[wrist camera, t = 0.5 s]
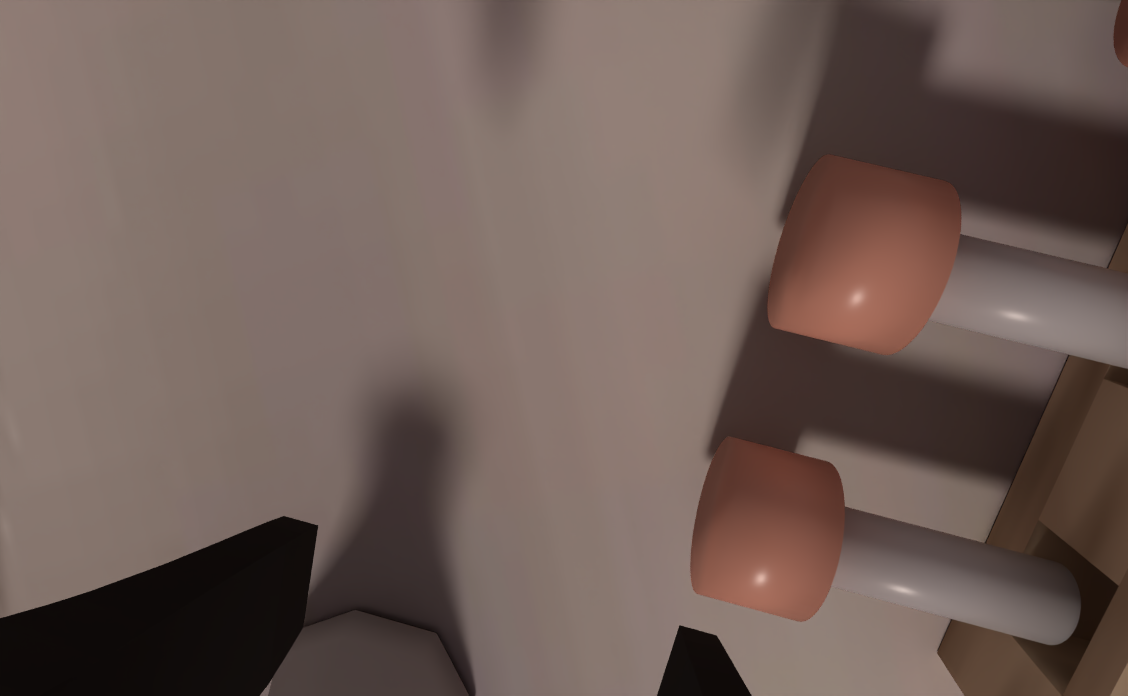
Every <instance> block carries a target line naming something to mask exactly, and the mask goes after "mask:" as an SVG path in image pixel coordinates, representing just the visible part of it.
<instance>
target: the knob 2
mask: <svg viewBox="0 0 1128 696" xmlns="http://www.w3.org/2000/svg"><path fill="white" fill-rule="evenodd" d="M690 571H691V582H692V587H693V590H694V591H695V593H697V594H700V595H703V596H707V597H711V598H714V599H718V600H722V601H725V602H729V603H733V604H736V605H740V606H744V607H747V608H751V609H755V610H758V611H762V612H766V613H769V614H773V615H777V616H780V617H784V618H788V619H791V620H795V621H800V622H802V621H806V620H808V619H810V618H811V617H812V616H813V615H814V614H815V613H816V612H817V611H818V610H819V608H820V607H821V605H822V604H823V602H824V600H825V598H826V596H827V594H828V592H829V590H830V587H834V588H838V589H842V590H846V591H849V592H853V593H857V594H860V595H864V596H868V597H872V598H875V599H879V600H883V601H886V602H890V603H894V604H898V605H901V606H905V607H909V608H912V609H916V610H920V611H924V612H927V613H931V614H935V615H938V616H942V617H946V618H950V619H953V620H957V621H961V622H965V623H968V624H972V625H976V626H979V627H983V628H987V629H991V630H994V631H998V632H1002V633H1005V634H1009V635H1013V636H1017V637H1020V638H1024V639H1028V640H1031V641H1035V642H1039V643H1043V644H1046V645H1058V644H1060V643H1063V642H1064V641H1066V640H1067V639H1068V638H1069V637H1070V636H1071V635H1072V633H1073V632H1074V630H1075V628H1076V626H1077V624H1078V621H1079V617H1080V611H1081V598H1080V592H1079V588H1078V585H1077V582H1076V580H1075V578H1074V576H1073V575H1072V573H1071V572H1070V571H1069V570H1068V569H1067V568H1066V567H1065V566H1064V565H1062V564H1060V563H1058V562H1055V561H1051V560H1047V559H1043V558H1039V557H1036V556H1032V555H1028V554H1024V553H1020V552H1016V551H1013V550H1009V549H1005V548H1001V547H997V546H993V545H990V544H986V543H982V542H978V541H974V540H970V539H967V538H963V537H959V536H955V535H951V534H948V533H944V532H940V531H936V530H932V529H928V528H925V527H921V526H917V525H913V524H909V523H905V522H902V521H898V520H894V519H890V518H886V517H882V516H879V515H875V514H871V513H867V512H863V511H860V510H856V509H852V508H848V507H845V502H844V493H843V486H842V482H841V479H840V476H839V473H838V471H837V470H836V468H835V467H834V466H833V464H831V463H830V462H827V461H823V460H820V459H816V458H812V457H808V456H804V455H800V454H796V453H792V452H789V451H785V450H781V449H777V448H773V447H769V446H765V445H761V444H757V443H754V442H750V441H746V440H742V439H738V438H734V437H730V436H729V437H726V438H725V439H724V440H723V441H722V443H721V444H720V446H719V447H718V449H717V451H716V453H715V455H714V457H713V459H712V462H711V464H710V467H709V470H708V472H707V476H706V479H705V482H704V485H703V489H702V492H701V496H700V500H699V505H698V509H697V514H696V519H695V525H694V531H693V538H692V547H691V563H690Z"/></svg>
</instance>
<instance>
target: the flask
mask: <svg viewBox="0 0 1128 696" xmlns="http://www.w3.org/2000/svg"><path fill="white" fill-rule="evenodd" d="M268 696H469V695H468V693H467V691H466V689H465V687H464V685H463V683H462V681H461V679H460V677H459V675H458V673H457V671H456V670H455V668H454V666H453V664H452V662H451V660H450V658H449V656H448V654H447V652H446V650H445V648H444V647H443V645H442V643H441V641H440V639H439V637H438V635H437V633H434V632H431V631H427V630H424V629H420V628H417V627H413V626H410V625H406V624H403V623H399V622H396V621H392V620H389V619H385V618H382V617H378V616H375V615H371V614H368V613H364V612H361V611H357V610H354V611H351V612H348V613H345V614H342V615H339V616H336V617H333V618H330V619H327V620H324V621H321V622H318V623H315V624H312V625H310V626H307V627H304V628H303V629H302V631H301V632H300V634H299V636H298V637H297V639H296V641H295V642H294V644H293V646H292V647H291V649H290V651H289V652H288V654H287V655H286V657H285V659H284V660H283V662H282V664H281V665H280V667H279V668H278V670H277V671H276V673H275V675H274V676H273V679H272V683H271V687H270V690H269V694H268Z"/></svg>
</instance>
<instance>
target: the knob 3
mask: <svg viewBox="0 0 1128 696" xmlns="http://www.w3.org/2000/svg"><path fill="white" fill-rule="evenodd" d="M1113 37H1114V48H1115V53H1116V55H1117V57H1118V59H1119V61H1120V62H1121V63H1122V64H1123V65H1125V66H1126V67H1128V0H1121V3H1120V6H1119V9H1118V13H1117V16H1116V21H1115V26H1114V36H1113Z"/></svg>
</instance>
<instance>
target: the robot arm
mask: <svg viewBox="0 0 1128 696" xmlns="http://www.w3.org/2000/svg"><path fill="white" fill-rule="evenodd" d="M317 530H318V525H314V524H311V523H307V522H303V521H300V520H296V519H293V518H289V517H285V516H283V517H280V518H277V519H274V520H272V521H269V522H266V523H264V524H261V525H259V526H256V527H254V528H251V529H249V530H247V531H244V532H242V533H239V534H237V535H235V536H232V537H230V538H227V539H225V540H223V541H220V542H218V543H215V544H213V545H211V546H208V547H206V548H203V549H201V550H198V551H196V552H193V553H191V554H188V555H186V556H183V557H181V558H179V559H176V560H174V561H171V562H169V563H166V564H164V565H161V566H158V567H156V568H153V569H150V570H147V571H145V572H142V573H139V574H136V575H134V576H131V577H128V578H125V579H123V580H120V581H117V582H114V583H112V584H109V585H106V586H103V587H101V588H98V589H95V590H92V591H89V592H86V593H83V594H80V595H77V596H74V597H71V598H68V599H65V600H62V601H58V602H55V603H52V604H49V605H45V606H42V607H38V608H35V609H31V610H28V611H24V612H21V613H17V614H14V615H10V616H7V617H3V618H0V696H260V694H261V693H262V692H263V690H264V689H265V688H266V687H267V685H268V684H269V682H270V681H271V679H272V678H273V676H274V675H275V673H276V671H277V670H278V668H279V667H280V665H281V664H282V662H283V660H284V659H285V657H286V655H287V654H288V652H289V651H290V649H291V647H292V646H293V644H294V642H295V641H296V639H297V637H298V636H299V634H300V632H301V631H302V629H303V624H304V618H305V611H306V604H307V597H308V590H309V584H310V577H311V570H312V563H313V557H314V550H315V543H316V536H317ZM657 696H752V695H751V694H750V692H749V690H748V689H747V687H746V685H745V684H744V682H743V680H742V678H741V677H740V675H739V673H738V671H737V670H736V668H735V666H734V664H733V663H732V661H731V659H730V658H729V656H728V654H727V652H726V651H725V649H724V647H723V645H722V644H721V642H720V640H719V639H718V637H717V636H716V635H713V634H709V633H705V632H702V631H698V630H695V629H691V628H687V627H684V626H679V629H678V632H677V635H676V638H675V641H674V644H673V647H672V651H671V654H670V657H669V660H668V663H667V666H666V669H665V672H664V676H663V679H662V682H661V685H660V688H659V691H658V694H657Z"/></svg>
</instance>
